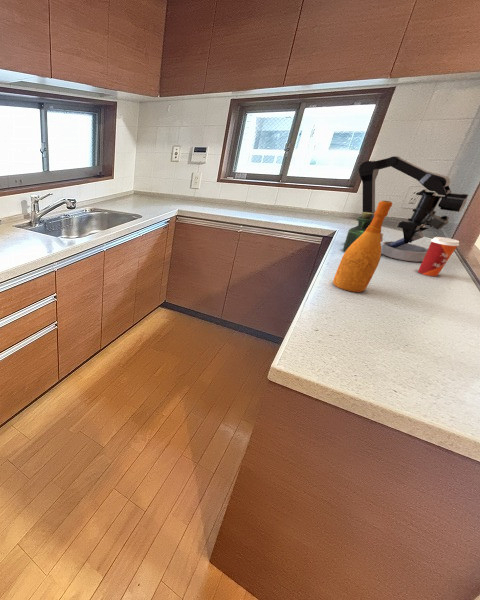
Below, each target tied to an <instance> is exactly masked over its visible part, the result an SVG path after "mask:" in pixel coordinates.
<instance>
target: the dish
mask: <svg viewBox="0 0 480 600" xmlns="http://www.w3.org/2000/svg"><path fill="white" fill-rule="evenodd" d="M392 242H393V241H390V240H389V241H388V240H387V241H382V242H381V255H383V256H386V257H388V258H391V259H394V260H399V261H404V262H415V263H416V262H417V263H418V262H422V261H423V259H424V257H425V255H426V252H427V250H428V248H427V247H424V246H421V245H417V244H413V243H408V244H404V245H402V246H399V247H397V248H392V247H389V246H387V244H390V243H392Z"/></svg>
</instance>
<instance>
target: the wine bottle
mask: <svg viewBox="0 0 480 600" xmlns="http://www.w3.org/2000/svg"><path fill="white" fill-rule="evenodd" d="M392 206H393V202H392V201H390V200H380V201H379V202H378V203H377V207H376V208H375V212H374V215H375V216H374V218H373V220H372V222H371V224H370V225H369V226H368V228H367V229H366V230H365V232H364V233H363V234H362V235H361V236H360V237H359V238H358V239H356V240H355V241H354V242H353V243H352V244H351V245H350V246H349V248H348V249H347V250H346V252H344V253H343V255H342V257H341V259H340V262H339V264H338V267H337V269H336V272H335V275H334V278H333V280H332V283H333V285H334V286H335V287H337V288H339V289H341V290H344V291H348V292H355V293H359V292H363V291H365V290H366V289H367V287H368V286H369V284H370V282H371V280H372V278H373V277H374V274H375V272H376V270H377V268H378V266H379V264H380V261H381V257H382V254H381V245H382V243H383V242H384V241H383V240H384V233H382V226H383V223H384V221H385V218H386V217H387V216H388V215H389V212H390V209H391V208H392Z"/></svg>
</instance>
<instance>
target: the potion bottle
mask: <svg viewBox="0 0 480 600" xmlns="http://www.w3.org/2000/svg"><path fill="white" fill-rule="evenodd" d="M361 215H362V217H361V216H358V217H357V218H356V221H358V223H357V225H356V226H357V227H356V226H353V227H350V228H349V229H348V231H347V234H346V237H345V241H344V243H345V244H343V248H342V251H343V252H344V253H345V252H346V250H347V249H348V248H349V246H350V245H351V244H352V243H353V242H354V241H355V240H356V239H358V238H359V237H360V236H361V235H362V234H363V233H364V232H365V230H366V229H367V228H366V226H367V225H368V224H369V223H370V222H372V220H373V219H371V216H372V215H373V213H369V212H363V211H361Z"/></svg>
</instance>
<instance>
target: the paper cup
mask: <svg viewBox="0 0 480 600" xmlns="http://www.w3.org/2000/svg"><path fill="white" fill-rule="evenodd" d="M459 246H460V241H459V239H455V238H449V237H443V236H434V237H433V238H432V239H431V240H430V244H429V246H428V248H427V249H428V250H427V252H426V255H425V257H424V259H423V261H421V264H420V266H419V268H418V270H417V272H418V274H421V275H424V276H428V277H437V276H438V275H439V274H440V273H441V271H442V269H443V268H444V267H445V265H446V264H447V263H448V261H449V260H450V258H451V256H452V255H453V253H454V252H455V251H456V249H457V247H459Z"/></svg>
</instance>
